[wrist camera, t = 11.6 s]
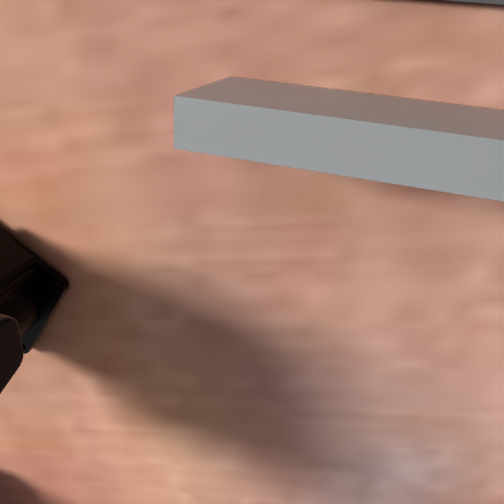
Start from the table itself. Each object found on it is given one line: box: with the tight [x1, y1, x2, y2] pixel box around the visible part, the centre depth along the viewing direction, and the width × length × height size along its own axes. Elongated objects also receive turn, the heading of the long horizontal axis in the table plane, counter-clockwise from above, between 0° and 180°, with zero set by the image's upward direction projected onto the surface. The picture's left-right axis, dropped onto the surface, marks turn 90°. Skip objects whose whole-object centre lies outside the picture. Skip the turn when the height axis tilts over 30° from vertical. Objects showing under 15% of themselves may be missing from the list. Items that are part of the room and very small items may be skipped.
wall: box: [174, 77, 504, 202], centre depth 14 cm, size 18×2×5 cm, turn 85°
